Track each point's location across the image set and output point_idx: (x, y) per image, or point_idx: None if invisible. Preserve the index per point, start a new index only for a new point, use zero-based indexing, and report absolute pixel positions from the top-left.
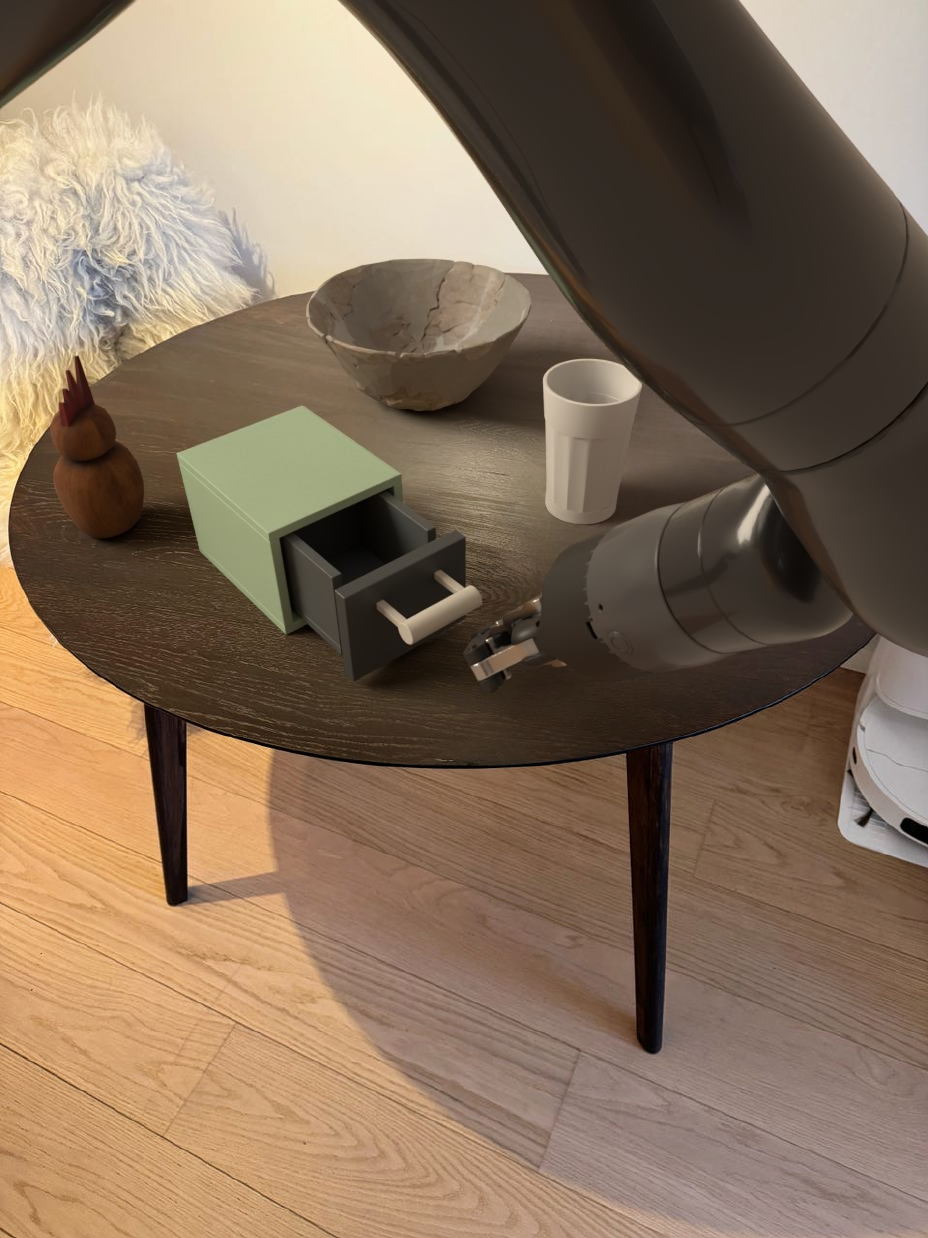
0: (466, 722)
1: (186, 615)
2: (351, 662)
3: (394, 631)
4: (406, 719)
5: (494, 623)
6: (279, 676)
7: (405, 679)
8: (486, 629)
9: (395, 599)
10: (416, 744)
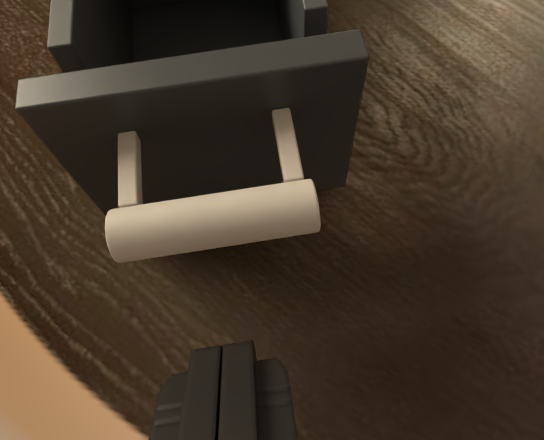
0: None
1: (28, 14)
2: (94, 201)
3: (182, 180)
4: (148, 324)
5: (224, 399)
6: (52, 155)
7: None
8: (181, 416)
9: (172, 135)
10: (128, 384)
